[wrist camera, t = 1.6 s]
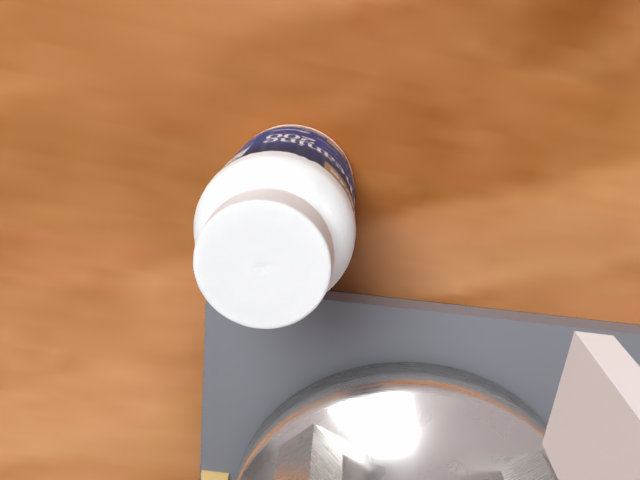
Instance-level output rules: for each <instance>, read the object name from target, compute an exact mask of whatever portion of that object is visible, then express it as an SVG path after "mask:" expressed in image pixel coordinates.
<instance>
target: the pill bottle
mask: <svg viewBox="0 0 640 480" xmlns="http://www.w3.org/2000/svg"><path fill="white" fill-rule="evenodd" d="M355 238H356V220H355V186H354V178H353V173H352V169H351V166H350V164H349V161H348V159H347V157H346V155H345V154H344V152H343V151H342V149H341V148H340V147H339V146H338V145H337V144H336V143H335V142H334V141H333V140H332V139H331V138H330V137H328V136H327V135H325V134H324V133H322V132H320V131H318V130H316V129H313V128H310V127H306V126H301V125H280V126H276V127H272V128H270V129H268V130H265V131H263V132H261V133H260V134H258V135H257V136H255V137H254V138H253V139H251V140H250V141H249V142H248V143H247V144H246V145H245V146H244V147H243V148H242V149H241V150H240V151H239V152H238V153H237V154H236V155H235V156H234V157H233V158H232V159H231V160H230V161H229V162H228V163H227V164H226V165H225V166H224V167H223V168H222V169H221V170H220V171H219V172H218V173H217V174H216V175H215V176H214V177H213V179H212V180H211V181H210V182H209V184H208V185H207V187H206V189H205V190H204V192H203V194H202V196H201V198H200V200H199V202H198V205H197V208H196V212H195V217H194V240H195V249H194V257H193V268H194V275H195V278H196V281H197V284H198V286H199V288H200V290H201V292H202V294H203V295H204V297H205V298H206V300H207V301H208V302H209V304H210V305H211V306H212V307H213V308H214V309H215V310H216V311H217V312H219V313H220V314H221V315H223V316H224V317H226V318H227V319H229V320H231V321H233V322H235V323H238V324H240V325H244V326H246V327H252V328H257V329H275V328H280V327H285V326H288V325H291V324H294V323H296V322H298V321H300V320H301V319H303V318H305V317H306V316H307V315H308V314H310V313H311V312H312V311H313V310H314V309H315V308H316V307H317V306H318V305H319V303H320V302H321V301H322V299H323V297H324V296H325V294H326V292H327V291H329V290H330V289H331V288H332V287H333V286H334V285H335V284H336V283H337V282H338V280H339V279H340V278H341V277H342V275H343V274H344V272H345V270H346V269H347V267H348V265H349V262H350V260H351V257H352V254H353V250H354V245H355Z"/></svg>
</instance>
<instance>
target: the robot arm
mask: <svg viewBox="0 0 640 480" xmlns="http://www.w3.org/2000/svg"><path fill="white" fill-rule="evenodd" d="M542 445H543V447H544V449H545V452H546V454H547V456H548V458H549V460H550V463H551V465H552V467H553V469H554V471H555V474H556V476H557V478H558V480H640V366H639V365H638V364H637V363H636V362H635V360H634V359H633V358H632V357H631V356H630V355H629V353H628V352H627V351H626V350H625V349H624V347H623V346H622V345H621V344H620V343H619V342H618V340H617V339H616V338H615V337H614V336H613V335H605V334H596V333H587V332H579V331H574V334H573V338H572V341H571V345H570V348H569V352H568V355H567V359H566V362H565V366H564V369H563V373H562V376H561V379H560V383H559V386H558V390H557V393H556V397H555V400H554V404H553V407H552V411H551V414H550V418H549V421H548V425H547V428H546V432H545V435H544V439H543V442H542Z"/></svg>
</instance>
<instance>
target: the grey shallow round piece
mask: <svg viewBox="0 0 640 480" xmlns="http://www.w3.org/2000/svg"><path fill="white" fill-rule="evenodd" d="M546 428H547V425H546V423H545V422H544V421H543V420H542V419H541V418H540V417H539V416H538V415H537V413H536V412H535V411H534V410H533V409H532V408H531V407H530V406H528V405H527V404H526V403H525V402H523V401H522V400H521V399H520V398H518V397H517V396H516V395H515V394H513V393H511V392H510V391H508V390H506V389H505V388H503V387H501V386H500V385H498V384H496V383H494V382H492V381H490V380H488V379H485V378H483V377H481V376H478V375H476V374H474V373H470V372H467V371H463V370H460V369H457V368H453V367H449V366H443V365H437V364H431V363H420V362H388V363H377V364H371V365H365V366H359V367H355V368H351V369H348V370H345V371H341V372H338V373H334V374H332V375H330V376H327V377H325V378H323V379H320V380H318V381H316V382H313V383H312V384H310V385H308V386H307V387H305V388H303V389H301V390H300V391H298V392H296V393H295V394H293V395H292V396H291V397H289V398H288V399H287V400H286V401H284V402H283V403H282V404H280V405H279V406H278V407H277V408H276V409H275V410H274V411H273V412H272V413H271V414H270V415H269V416H268V417H267V418H266V419H265V420H264V422H263V423H262V424H261V426H260V427H259V429H258V430H257V431H256V433H255V434H254V436H253V437H252V439H251V441H250V443H249V445H248V447H247V449H246V451H245V453H244V456H243V460H242V463H241V466H240V469H239V473H238V477H237V480H558V478H557V476H556V474H555V471H554V469H553V467H552V465H551V463H550V460H549V458H548V456H547V454H546V452H545V449H544V447H543V445H542V442H543V439H544V435H545V432H546Z"/></svg>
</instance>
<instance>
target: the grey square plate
mask: <svg viewBox="0 0 640 480" xmlns="http://www.w3.org/2000/svg"><path fill="white" fill-rule="evenodd" d="M574 331H579V332H587V333H596V334H605V335H613V336H614V337H615V338H616V339H617V340H618V342H619V343H620V344H621V345H622V346H623V347H624V349H625V350H626V351H627V352H628V353H629V355H630V356H631V357H632V358H633V359H634V360H635V362H636V363H637V364H638V365H639V366H640V325H635V324H626V323H616V322H607V321H598V320H589V319H580V318H571V317H562V316H553V315H544V314H535V313H526V312H517V311H508V310H499V309H490V308H481V307H471V306H462V305H453V304H444V303H435V302H426V301H417V300H408V299H399V298H390V297H381V296H372V295H363V294H354V293H345V292H336V291H327V292H326V294H325V296H324V297H323V299H322V301H321V302H320V303H319V305H318V306H317V307H316V308H315V309H314V310H313V311H312V312H311V313H310V314H308V315H307V316H306V317H305V318H303V319H301V320H300V321H298V322H296V323H294V324H291V325H288V326H285V327H280V328H275V329H257V328H252V327H246V326H244V325H240V324H238V323H235V322H233V321H231V320H229V319H227V318H226V317H224V316H223V315H221V314H220V313H219V312H217V311H216V310H215V309H214V308H213V307H212V306H211V305H210V304H209V302H208V301H207V300H206V312H205V342H204V372H203V402H202V433H201V463H200V480H237V477H238V473H239V469H240V466H241V463H242V460H243V456H244V453H245V451H246V449H247V447H248V445H249V443H250V441H251V439H252V437H253V436H254V434H255V433H256V431H257V430H258V429H259V427H260V426H261V424H262V423H263V422H264V420H265V419H266V418H267V417H268V416H269V415H270V414H271V413H272V412H273V411H274V410H275V409H276V408H277V407H278V406H279V405H280V404H282V403H283V402H284V401H286V400H287V399H288V398H289V397H291V396H292V395H293V394H295V393H296V392H298V391H300V390H301V389H303V388H305V387H307V386H308V385H310V384H312V383H313V382H316V381H318V380H320V379H323V378H325V377H327V376H330V375H332V374H334V373H338V372H341V371H345V370H348V369H351V368H355V367H359V366H365V365H371V364H377V363H388V362H420V363H431V364H437V365H443V366H449V367H453V368H457V369H460V370H463V371H467V372H470V373H474V374H476V375H478V376H481V377H483V378H485V379H488V380H490V381H492V382H494V383H496V384H498V385H500V386H501V387H503V388H505V389H506V390H508V391H510V392H511V393H513V394H515V395H516V396H517V397H518V398H520V399H521V400H522V401H523V402H525V403H526V404H527V405H528V406H530V407H531V408H532V409H533V410H534V411H535V412H536V413H537V415H538V416H539V417H540V418H541V419H542V420H543V421H544V422H545V423H546V425H548V421H549V418H550V414H551V411H552V407H553V404H554V400H555V397H556V393H557V390H558V386H559V383H560V379H561V376H562V373H563V369H564V366H565V362H566V359H567V355H568V352H569V348H570V345H571V341H572V338H573V334H574Z"/></svg>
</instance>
